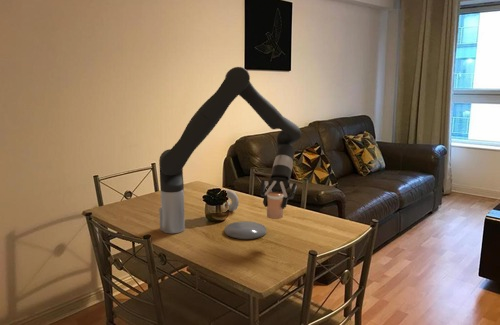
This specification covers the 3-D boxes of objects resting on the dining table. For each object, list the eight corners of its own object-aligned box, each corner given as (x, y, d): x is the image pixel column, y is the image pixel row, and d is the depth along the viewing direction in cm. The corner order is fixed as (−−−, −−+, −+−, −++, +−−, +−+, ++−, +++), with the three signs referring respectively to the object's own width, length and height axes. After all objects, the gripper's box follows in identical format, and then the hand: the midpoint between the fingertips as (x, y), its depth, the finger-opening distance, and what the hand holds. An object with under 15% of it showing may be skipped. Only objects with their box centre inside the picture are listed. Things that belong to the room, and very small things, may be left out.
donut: (219, 209, 198) (219, 189, 196) (224, 207, 201) (224, 187, 199) (235, 214, 192) (235, 193, 190) (240, 212, 195) (240, 191, 193)
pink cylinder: (264, 218, 156) (265, 194, 154) (268, 213, 162) (269, 190, 160) (280, 219, 154) (281, 196, 152) (284, 214, 160) (285, 192, 158)
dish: (218, 237, 165) (218, 233, 165) (232, 222, 181) (232, 219, 181) (259, 242, 160) (259, 238, 160) (270, 227, 176) (270, 224, 176)
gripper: (262, 162, 163) (253, 200, 154) (299, 165, 159) (291, 204, 150) (266, 172, 169) (257, 209, 160) (301, 175, 165) (294, 213, 156)
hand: (274, 206), depth 155 cm, fingers closed on pink cylinder, 6 cm apart
